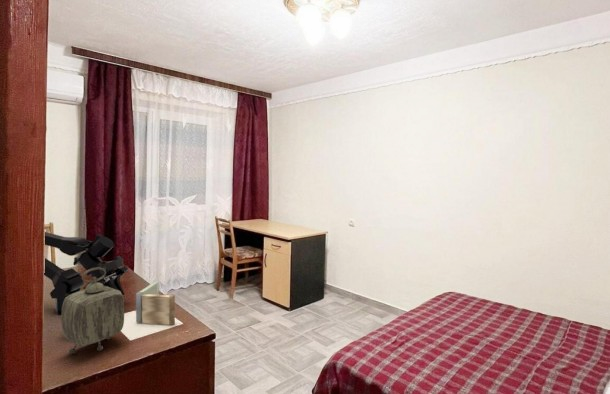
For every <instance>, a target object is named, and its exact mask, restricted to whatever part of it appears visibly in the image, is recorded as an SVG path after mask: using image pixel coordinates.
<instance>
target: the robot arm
mask: <svg viewBox="0 0 610 394" xmlns="http://www.w3.org/2000/svg"><path fill="white" fill-rule="evenodd" d="M44 232H45V245H44V246H48V247H52V248H54V249H55V248H56V249H57V250H59V251H60V252H61V253H63V254H65V255H67V256H70V257H73V256H76V257H73V258H74V259H73V265H74V266H76V265H79V264H80V265H81V266H82V268H84V269H85V270H86V271H87V270H89V269H92V268H96V267H101V268H104V269H105V270H106V275H105V277H104V278H103V279H101V280H99V281H97V282H99V283H102V284H103V285H104V286H107V287H110V288H113V289H116V290H119V291H121V293H122V295H123V296H124V295H125V292H124V290H123V287H122V284H121V281H120V280H121V278H122V276H123V275H125V274H126V273H127V272H128V271H129V268H128V267H127V266H126V265H124V261H125V259H124V258H123V257H121V256H120V255H118V256H114V257H113V260H111V261H110V262H108V261H107V260H104V261H103V260H102V259H100V258H103V257H104V256H106V255H107V254H108V252H109V251H111V250H112V248H114V246H115V244H114V241H113V240H112V239H111V238H109V237H108V236H107V237H106V236H104V235H103V234H98V235H96V236H95V238H94V239H93V240H92V241H91V240H88V239H87V238H85V237H81V236H80V237H79V236H70V237H69V236H62V235H59V234H55V233H51V232H47V231H44ZM79 254H80V255H79ZM77 255H78V256H77ZM81 274H82V273H81V272H78V271H76V270H75V269H74V268H72V267H71V268H68V269H65V270H64V269H63V268H61V267H60V266H58V265H57V264H55V263H53V262H52V261H50V260H49V259H48V258H46V257H45V273H44V275H43V276H45V277H46V278H48V279H49V280H51V282H52V285H53V287H54V288H53V289H52V291H50V293H49V295H50V297H51V299H55V300H54V301H55V308H54V312H55V313H56V315H58V316H59V315H62V306H63V302H64V300H65V298H66V297H67V296H69V295H71V294H73V293H76V292H79V291H81V288H82V287H83V290H85V288H86V287H87V285H88V284H90V283H86V285H84V281H83V280H82V275H81ZM104 274H105V272H104V271H103V270H100V269H99V270H93V271H90V272H88V273H87V274H86V275H87V277H90V276H91V277H92V278H93V277H96V279H98V278H100V277H102V276H103V275H104ZM83 285H84V286H83Z"/></svg>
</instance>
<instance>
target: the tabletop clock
mask: <svg viewBox="0 0 610 394" xmlns="http://www.w3.org/2000/svg"><path fill="white" fill-rule="evenodd" d="M99 269H100V270H103V271H104V272H105V274H104V275H103V276H102V277H100V278H98V279H96V277H92V279H90V280H86V279H85V278H84V277H85V275H87V273H88V272H90V271H93V270H99ZM105 275H106V270H105V269H104V268H101V267H96V268H92V269H89V270H86V271H84V272H83V274H82V275H81V276H82V280H83V283H86V285H87V284H88V283H90V284H88V285H87V287H86V288H85V290H84V289H82V290H80V291H79V292H76V293H73V294H71V295H69V296H67V297H66V298H65V300H64V302H63V306H62V314H60V315H61V316H60V317H61V318H60V320H61V331H62V334H63V336H64V338H65V340H67V341H70V342H71V343H73V344H74V346H73V348H70V349H69V351H68V354H70V355H73V354H75V353H76V351H77V348H78V346H79V347H85V346H89V345H92V344H95V343H97V345H98V346H97V347H96V350H97V351H98V352H102V351H103V349H104V346H103V345H101V341H103V340H105V339H106V340H111V339H112V336H114V335H116V334H119V333H120V332H121V330H122V328H123V324H124V313H125V300H124V295H122V293H121V291H119V290H116V289H113V288H110V287H107V286H104V285H103V284H102V283H99V282H97V281H99V280H101V279H103V278H104V277H105Z"/></svg>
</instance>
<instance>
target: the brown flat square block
mask: <svg viewBox="0 0 610 394" xmlns="http://www.w3.org/2000/svg"><path fill="white" fill-rule="evenodd" d="M141 298H142V323H144V324H161V325H171V326H173V325H175V318H176V307H175V306H176V300H175V299H176V295H175V294H170V295H169V294H168V295H167V294H159V295H153V294H143V295H142V296H141Z"/></svg>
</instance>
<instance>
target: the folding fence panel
mask: <svg viewBox="0 0 610 394" xmlns="http://www.w3.org/2000/svg"><path fill="white" fill-rule="evenodd" d="M159 284H160V282H159V281H157V280H156V281H153V282H152V283H150V284H149V285H147V286H146V287H144V288H143V289H141V290H140V291H137V292H136V293H135V310H136V322H137V323H140V322H142V298H141V296H142V295H143V294H153V295H160V291H159V287H160V285H159Z"/></svg>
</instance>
